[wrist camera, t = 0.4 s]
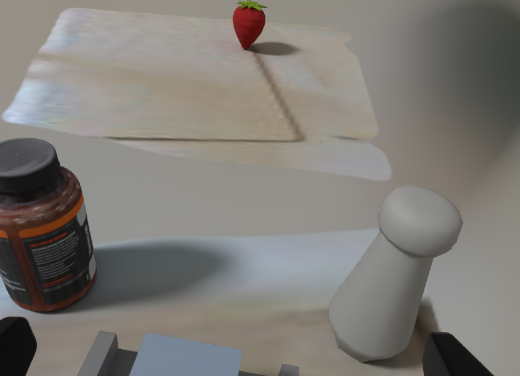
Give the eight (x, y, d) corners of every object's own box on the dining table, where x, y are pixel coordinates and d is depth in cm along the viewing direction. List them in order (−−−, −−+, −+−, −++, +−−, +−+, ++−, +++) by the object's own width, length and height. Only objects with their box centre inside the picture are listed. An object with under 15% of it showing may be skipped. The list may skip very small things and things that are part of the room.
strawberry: (259, 44, 78) (267, -12, 72) (263, 58, 72) (271, -1, 66) (229, 40, 77) (234, -16, 71) (230, 54, 71) (235, -6, 65)
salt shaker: (403, 321, 31) (482, 190, 23) (395, 389, 26) (490, 257, 18) (331, 292, 32) (382, 159, 24) (312, 353, 28) (366, 215, 20)
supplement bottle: (114, 267, 31) (97, 145, 24) (59, 328, 27) (18, 200, 20) (51, 242, 32) (17, 119, 26) (-12, 297, 28) (-74, 165, 21)
